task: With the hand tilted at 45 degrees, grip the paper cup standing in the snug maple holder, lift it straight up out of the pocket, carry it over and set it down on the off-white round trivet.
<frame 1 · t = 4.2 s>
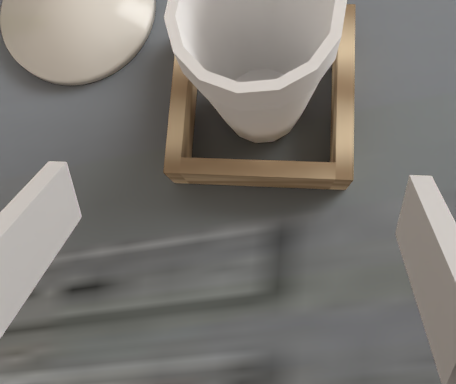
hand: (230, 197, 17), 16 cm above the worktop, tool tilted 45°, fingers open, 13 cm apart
holder: (262, 105, 35), on the worktop
trivet: (80, 13, 38), on the worktop
foam cup: (262, 107, 35), resting in holder
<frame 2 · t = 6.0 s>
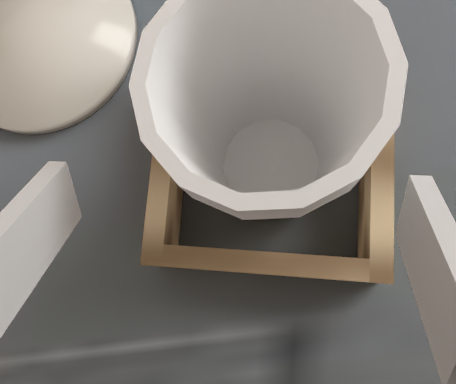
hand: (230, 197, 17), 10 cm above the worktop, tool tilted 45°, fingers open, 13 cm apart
holder: (270, 167, 27), on the worktop
trivet: (43, 41, 31), on the worktop
foam cup: (270, 168, 27), resting in holder
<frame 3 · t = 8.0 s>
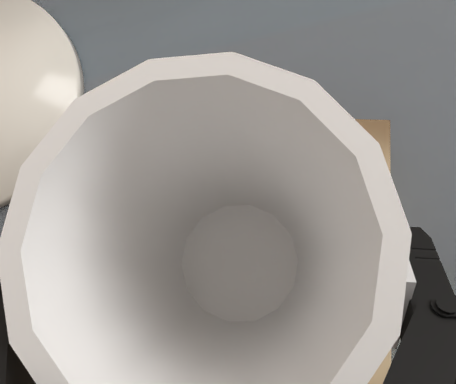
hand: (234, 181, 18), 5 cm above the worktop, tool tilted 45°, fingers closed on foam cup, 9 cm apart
holder: (240, 262, 22), on the worktop
foam cup: (240, 262, 22), resting in holder, touching gripper
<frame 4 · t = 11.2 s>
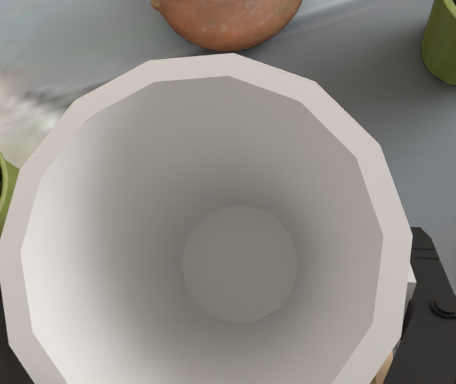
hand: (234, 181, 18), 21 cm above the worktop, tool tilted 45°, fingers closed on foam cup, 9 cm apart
plant pot: (17, 206, 42), on the worktop
foam cup: (240, 263, 22), point 16 cm above the worktop, touching gripper
when the fingers open (7 cm above the worktop, at t = 14.4 s): foam cup stays where it is, resting on trivet.
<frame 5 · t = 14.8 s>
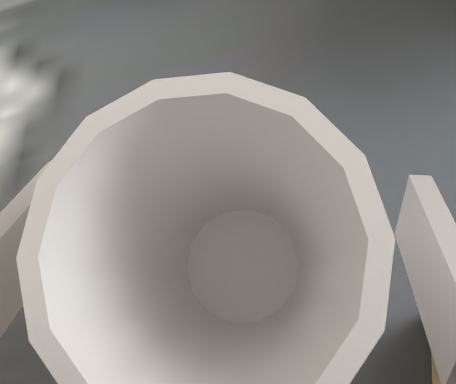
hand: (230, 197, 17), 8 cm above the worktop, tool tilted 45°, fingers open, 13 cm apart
foam cup: (243, 265, 23), point 1 cm above the worktop, touching trivet
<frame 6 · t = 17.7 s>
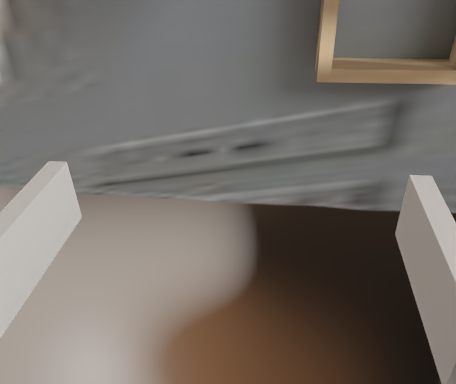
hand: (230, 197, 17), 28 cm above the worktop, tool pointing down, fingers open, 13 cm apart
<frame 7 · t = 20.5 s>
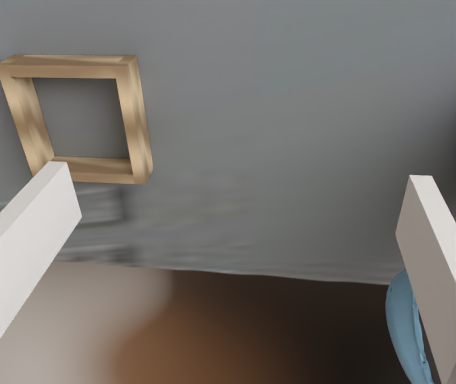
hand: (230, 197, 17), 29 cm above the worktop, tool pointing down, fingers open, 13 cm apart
holder: (88, 115, 48), on the worktop
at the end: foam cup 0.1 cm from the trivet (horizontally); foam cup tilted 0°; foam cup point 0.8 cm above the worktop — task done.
